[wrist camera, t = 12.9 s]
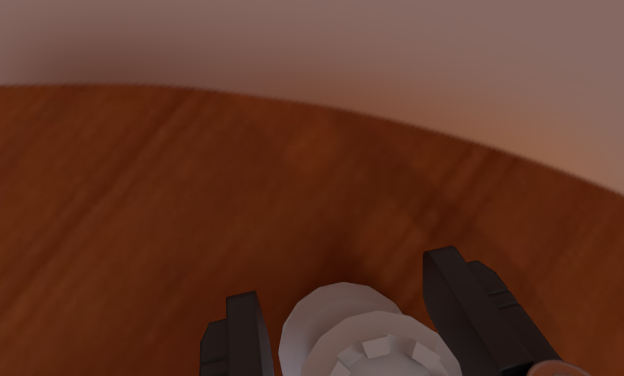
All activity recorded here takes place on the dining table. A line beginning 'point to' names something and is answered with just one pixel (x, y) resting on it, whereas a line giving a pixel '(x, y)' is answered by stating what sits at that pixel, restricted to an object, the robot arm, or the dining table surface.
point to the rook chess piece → (359, 337)
